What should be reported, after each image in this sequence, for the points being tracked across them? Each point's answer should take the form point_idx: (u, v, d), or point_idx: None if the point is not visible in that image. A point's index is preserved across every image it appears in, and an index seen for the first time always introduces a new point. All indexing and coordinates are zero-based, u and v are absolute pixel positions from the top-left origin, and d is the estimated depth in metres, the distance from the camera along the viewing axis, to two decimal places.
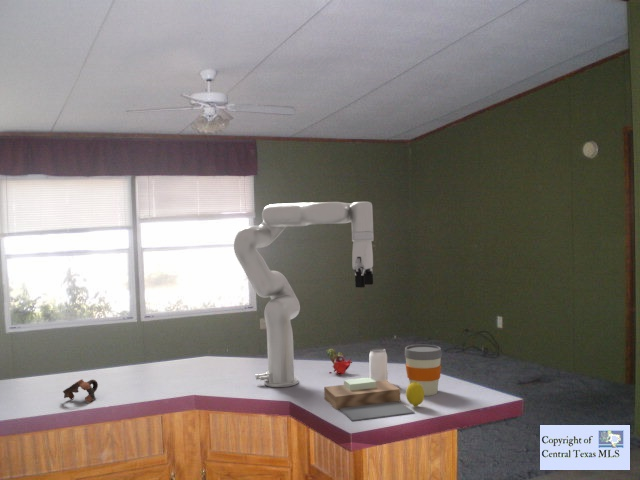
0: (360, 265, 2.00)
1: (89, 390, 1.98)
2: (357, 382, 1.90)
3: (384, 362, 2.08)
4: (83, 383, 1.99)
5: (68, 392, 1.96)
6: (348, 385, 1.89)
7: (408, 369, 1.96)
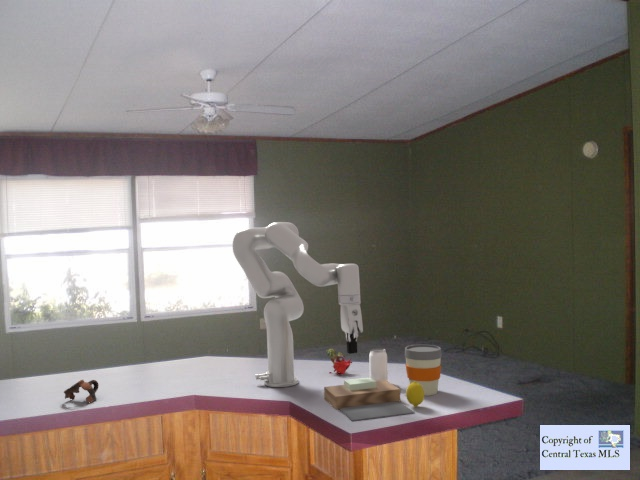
0: None
1: (90, 390, 1.98)
2: (357, 382, 1.90)
3: (384, 362, 2.08)
4: (84, 383, 1.98)
5: (69, 392, 1.95)
6: (348, 385, 1.89)
7: (408, 369, 1.96)
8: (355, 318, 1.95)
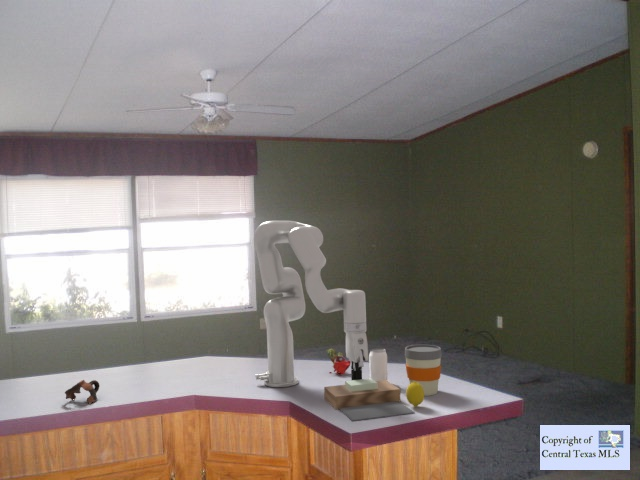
0: None
1: (91, 391, 1.97)
2: (358, 383, 1.89)
3: (384, 362, 2.08)
4: (85, 384, 1.98)
5: (70, 393, 1.95)
6: (349, 386, 1.88)
7: (408, 369, 1.96)
8: (361, 347, 1.90)
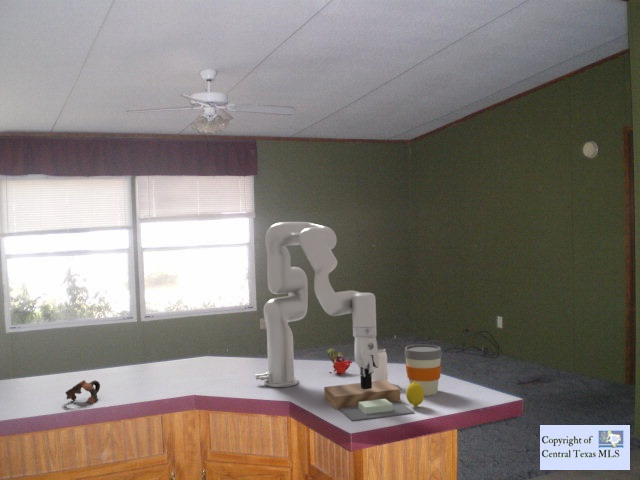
0: None
1: (92, 391, 1.97)
2: None
3: (384, 362, 2.08)
4: (86, 384, 1.97)
5: (71, 393, 1.94)
6: (360, 407, 1.80)
7: (408, 369, 1.96)
8: (371, 352, 1.82)
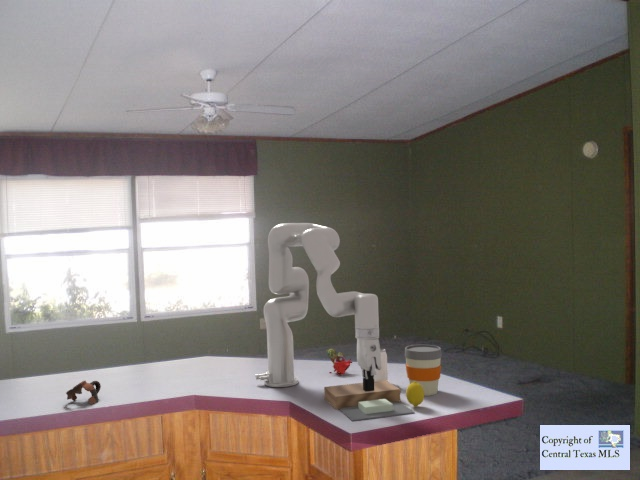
0: None
1: (92, 391, 1.97)
2: None
3: (384, 362, 2.08)
4: (86, 384, 1.97)
5: (71, 393, 1.94)
6: (360, 407, 1.80)
7: (408, 369, 1.96)
8: (373, 354, 1.79)
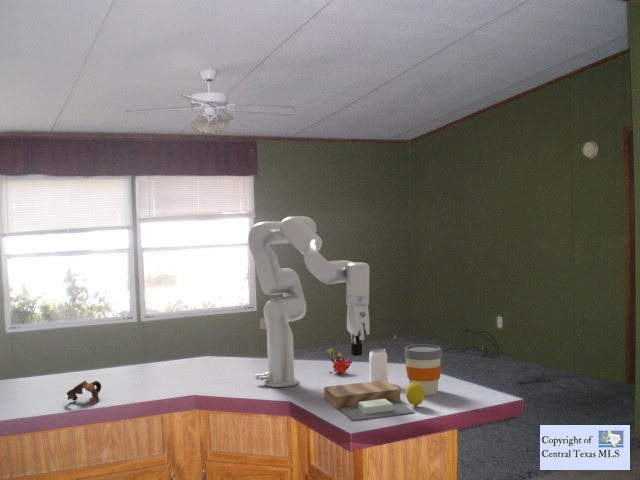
0: None
1: (93, 391, 1.96)
2: None
3: (384, 362, 2.08)
4: (87, 384, 1.97)
5: (72, 394, 1.94)
6: (360, 407, 1.80)
7: (408, 369, 1.96)
8: (362, 320, 1.87)
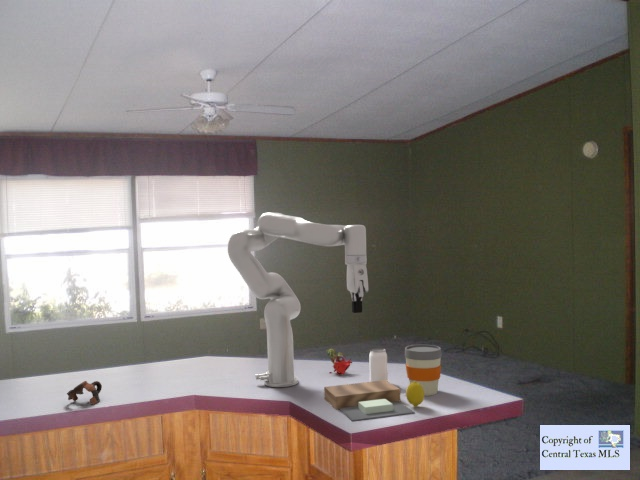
0: None
1: (94, 392, 1.96)
2: None
3: (384, 362, 2.08)
4: (87, 385, 1.97)
5: (73, 394, 1.93)
6: (360, 407, 1.80)
7: (408, 369, 1.96)
8: (361, 277, 1.98)
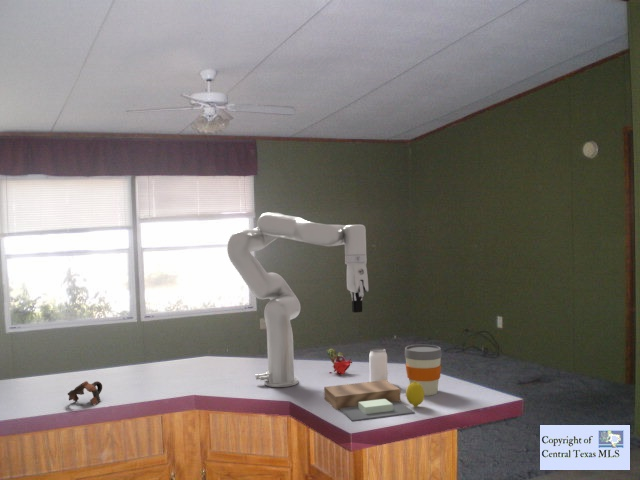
0: None
1: (94, 392, 1.96)
2: None
3: (384, 362, 2.08)
4: (88, 385, 1.96)
5: (73, 394, 1.93)
6: (360, 407, 1.80)
7: (408, 369, 1.96)
8: (361, 277, 1.99)
